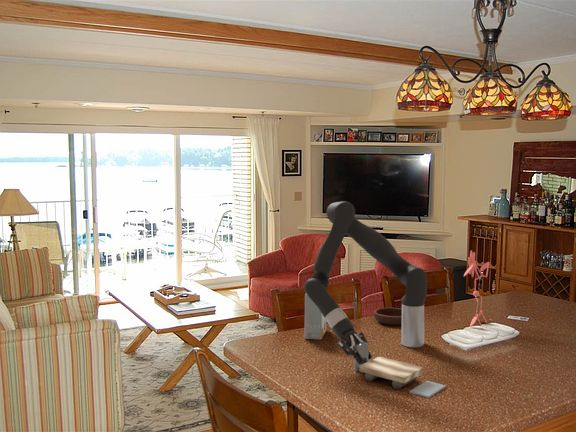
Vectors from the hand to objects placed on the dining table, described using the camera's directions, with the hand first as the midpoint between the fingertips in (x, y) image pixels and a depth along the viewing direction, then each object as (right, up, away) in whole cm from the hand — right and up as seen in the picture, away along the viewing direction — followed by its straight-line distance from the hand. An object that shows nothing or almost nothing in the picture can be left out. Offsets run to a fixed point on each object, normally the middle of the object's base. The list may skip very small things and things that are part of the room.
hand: (365, 360), depth 214 cm
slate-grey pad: (+19, -6, -17) cm, 26 cm away
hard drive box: (-16, 0, +47) cm, 49 cm away
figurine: (+57, +2, +62) cm, 84 cm away
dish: (+22, +2, +67) cm, 70 cm away
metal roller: (-1, -4, +2) cm, 5 cm away
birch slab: (+8, -5, -8) cm, 12 cm away
